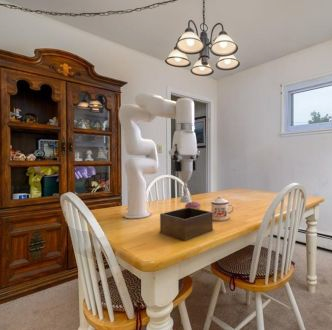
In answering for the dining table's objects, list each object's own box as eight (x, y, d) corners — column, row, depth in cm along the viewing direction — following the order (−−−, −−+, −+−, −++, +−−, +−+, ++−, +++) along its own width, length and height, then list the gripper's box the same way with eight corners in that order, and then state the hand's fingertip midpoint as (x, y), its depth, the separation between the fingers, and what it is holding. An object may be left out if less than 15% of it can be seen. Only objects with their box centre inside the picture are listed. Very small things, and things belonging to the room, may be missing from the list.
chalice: (189, 203, 91) (189, 159, 90) (174, 202, 92) (174, 159, 91) (196, 200, 98) (196, 159, 97) (181, 199, 99) (181, 159, 99)
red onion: (191, 217, 118) (191, 194, 117) (181, 214, 123) (181, 193, 123) (203, 214, 124) (203, 193, 124) (194, 211, 130) (194, 191, 129)
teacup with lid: (211, 221, 111) (211, 198, 110) (210, 216, 120) (210, 194, 119) (235, 220, 112) (235, 197, 112) (232, 215, 121) (232, 194, 121)
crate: (160, 232, 94) (160, 213, 94) (188, 223, 106) (188, 207, 106) (184, 240, 85) (184, 220, 84) (212, 230, 97) (212, 212, 97)
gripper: (194, 131, 103) (194, 169, 104) (162, 127, 89) (162, 171, 90) (206, 130, 99) (206, 170, 99) (174, 125, 85) (174, 172, 85)
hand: (185, 170), depth 95 cm, fingers closed on chalice, 7 cm apart
